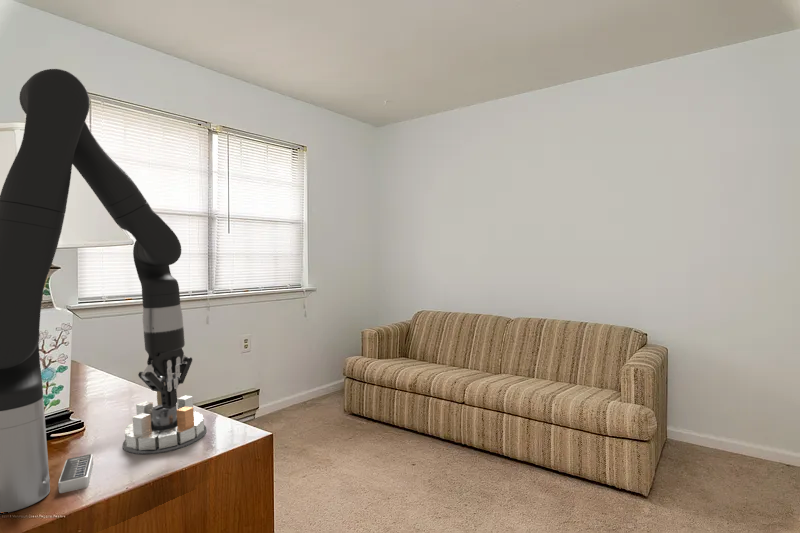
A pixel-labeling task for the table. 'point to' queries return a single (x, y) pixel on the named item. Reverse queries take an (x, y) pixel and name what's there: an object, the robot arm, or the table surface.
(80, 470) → the multiport hub
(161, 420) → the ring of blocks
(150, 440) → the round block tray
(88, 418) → the table surface
